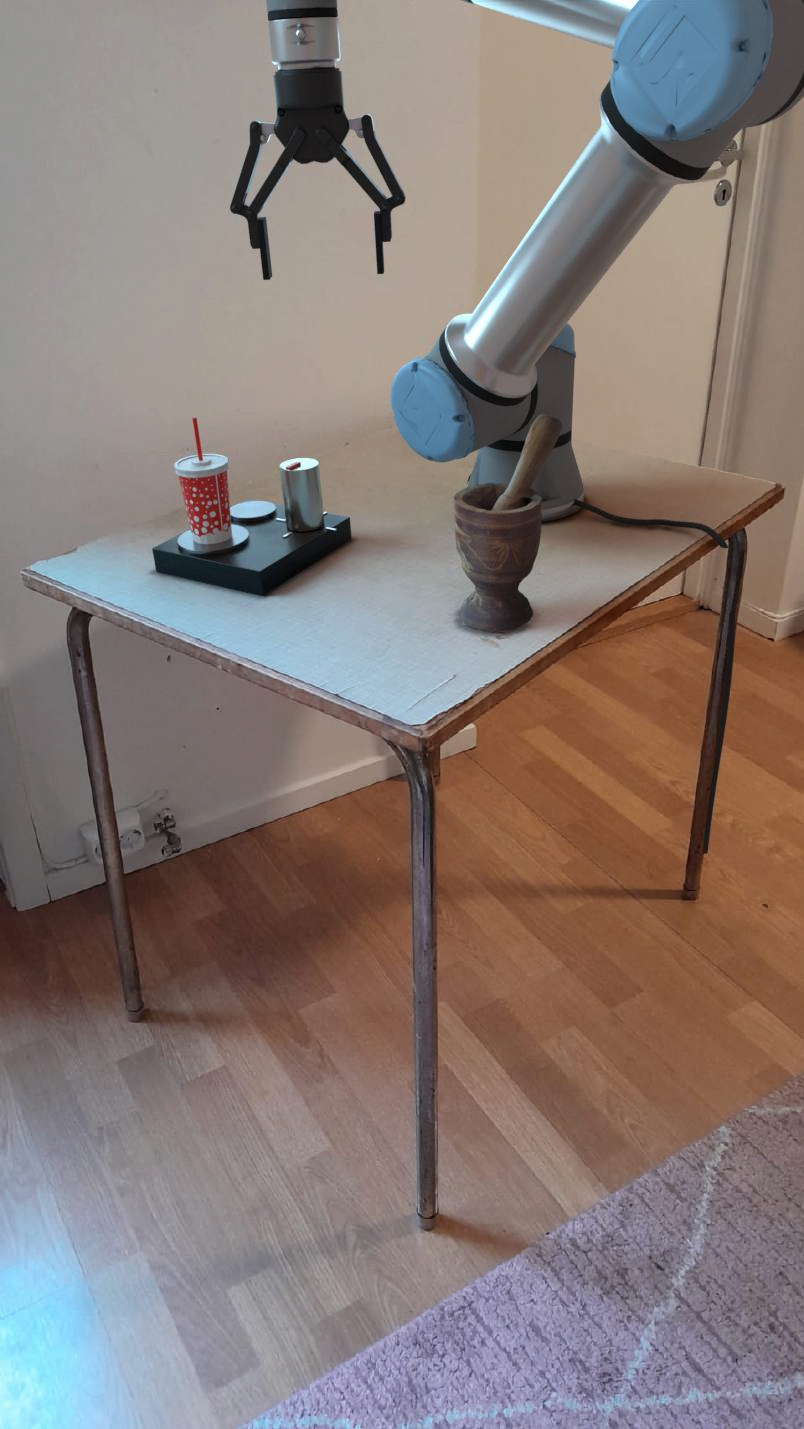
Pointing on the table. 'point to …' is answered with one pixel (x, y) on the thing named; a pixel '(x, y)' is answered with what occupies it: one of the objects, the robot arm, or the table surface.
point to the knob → (302, 494)
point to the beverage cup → (205, 494)
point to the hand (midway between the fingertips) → (324, 275)
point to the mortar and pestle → (503, 536)
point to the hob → (257, 554)
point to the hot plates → (240, 535)
